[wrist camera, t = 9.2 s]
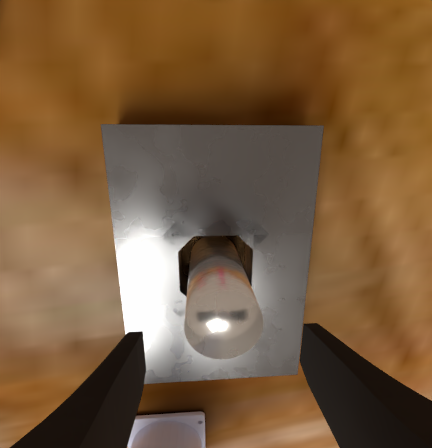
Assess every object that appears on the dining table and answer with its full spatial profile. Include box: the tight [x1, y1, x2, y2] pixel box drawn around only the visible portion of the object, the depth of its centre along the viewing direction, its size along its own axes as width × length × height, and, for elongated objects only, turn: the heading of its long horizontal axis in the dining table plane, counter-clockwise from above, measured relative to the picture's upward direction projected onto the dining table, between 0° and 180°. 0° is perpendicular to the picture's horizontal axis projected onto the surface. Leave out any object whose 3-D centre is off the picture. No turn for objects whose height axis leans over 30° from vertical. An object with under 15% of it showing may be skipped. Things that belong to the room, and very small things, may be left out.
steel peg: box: [184, 236, 264, 359], centre depth 17 cm, size 4×4×9 cm
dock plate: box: [101, 124, 324, 384], centre depth 19 cm, size 20×14×3 cm
